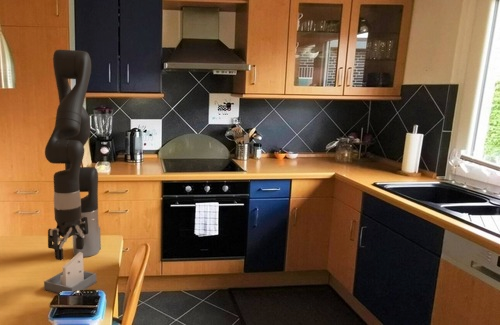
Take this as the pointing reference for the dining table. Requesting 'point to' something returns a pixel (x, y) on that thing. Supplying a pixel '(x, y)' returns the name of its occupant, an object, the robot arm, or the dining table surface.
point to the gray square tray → (56, 287)
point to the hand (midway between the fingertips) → (70, 254)
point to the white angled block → (73, 271)
